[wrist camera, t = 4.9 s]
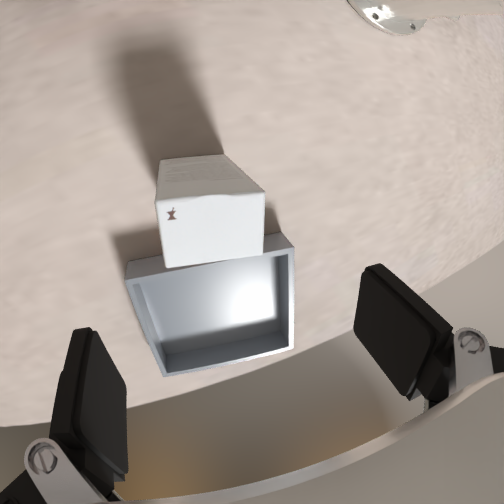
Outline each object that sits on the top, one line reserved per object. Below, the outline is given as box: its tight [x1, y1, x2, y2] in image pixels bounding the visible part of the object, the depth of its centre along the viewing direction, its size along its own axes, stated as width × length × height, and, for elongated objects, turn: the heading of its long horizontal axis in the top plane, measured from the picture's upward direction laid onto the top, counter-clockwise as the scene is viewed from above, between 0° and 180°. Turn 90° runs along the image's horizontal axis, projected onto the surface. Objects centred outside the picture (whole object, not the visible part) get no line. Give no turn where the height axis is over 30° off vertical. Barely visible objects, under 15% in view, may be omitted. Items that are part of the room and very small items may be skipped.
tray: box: [125, 232, 294, 377], centre depth 32 cm, size 16×14×4 cm
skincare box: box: [155, 154, 265, 268], centre depth 21 cm, size 6×4×12 cm
